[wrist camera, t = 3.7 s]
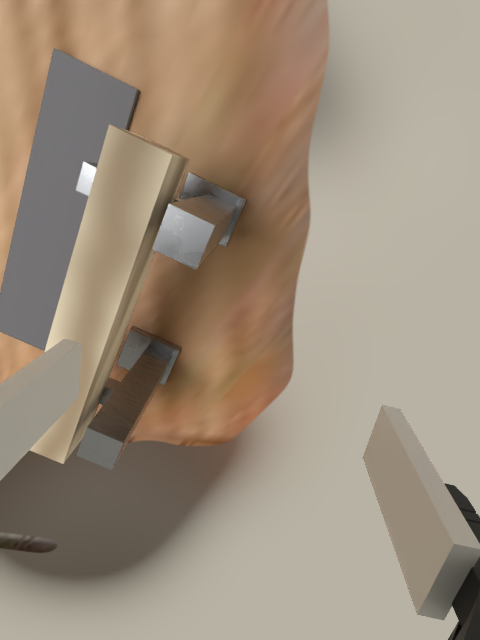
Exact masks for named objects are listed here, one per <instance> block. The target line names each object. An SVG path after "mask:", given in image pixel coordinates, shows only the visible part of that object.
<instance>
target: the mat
mask: <svg viewBox="0 0 480 640" xmlns="http://www.w3.org/2000/svg"><path fill="white" fill-rule="evenodd" d="M138 94H139V90H137V89H135V88H133V87H131V86H129V85H127V84H125V83H123V82H121V81H119V80H117V79H115V78H113V77H111V76H109V75H107V74H105V73H103V72H101V71H99V70H97V69H95V68H93V67H91V66H89V65H87V64H85V63H83V62H81V61H79V60H77V59H75V58H73V57H71V56H69V55H67V54H65V53H63V52H61V51H59V50H57V49H55V48H54V49H53V54H52V58H51V63H50V68H49V72H48V77H47V81H46V86H45V90H44V95H43V100H42V104H41V109H40V113H39V118H38V122H37V127H36V132H35V136H34V141H33V145H32V150H31V154H30V159H29V164H28V168H27V173H26V177H25V182H24V186H23V191H22V196H21V200H20V205H19V209H18V214H17V219H16V223H15V228H14V232H13V237H12V241H11V246H10V251H9V255H8V260H7V264H6V269H5V273H4V278H3V283H2V287H1V292H0V332H2V333H4V334H7V335H9V336H11V337H14V338H16V339H18V340H21V341H23V342H25V343H27V344H30V345H32V346H34V347H37V348H39V349H41V350H44V351H45V348H46V344H47V341H48V337H49V334H50V330H51V327H52V323H53V320H54V316H55V313H56V309H57V306H58V302H59V299H60V295H61V292H62V288H63V285H64V281H65V278H66V274H67V271H68V267H69V264H70V260H71V257H72V253H73V250H74V246H75V243H76V239H77V236H78V232H79V229H80V225H81V222H82V218H83V215H84V211H85V208H86V204H87V201H88V197H89V196H87V195H85V194H83V193H81V192H78V191H76V188H77V184H78V180H79V176H80V173H81V169H82V165H83V162H93V163H98V162H99V158H100V155H101V151H102V148H103V144H104V141H105V137H106V134H107V130H108V127H109V124H110V125H113V126H116V127H119V128H122V129H125V130H128V127H129V124H130V120H131V117H132V114H133V111H134V107H135V104H136V101H137V97H138Z"/></svg>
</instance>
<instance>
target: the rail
mask: <svg viewBox="0 0 480 640" xmlns="http://www.w3.org/2000/svg"><path fill="white" fill-rule="evenodd" d="M189 160H190V159H188V158H186V157H184V156H182V155H180V154H178V153H176V152H174V151H172V150H170V149H168V148H166V147H164V146H162V145H160V144H157V143H155V142H153V141H151V140H149V139H147V138H145V137H143V136H141V135H139V134H137V133H134V132H131V131H128V130H125V129H122V128H119V127H116V126H113V125H110V124H109V127H108V130H107V134H106V137H105V141H104V144H103V148H102V151H101V155H100V158H99V162H98V165H97V169H96V172H95V176H94V179H93V183H92V186H91V190H90V194H89V197H88V201H87V204H86V208H85V211H84V215H83V218H82V222H81V225H80V229H79V232H78V236H77V239H76V243H75V246H74V250H73V253H72V257H71V260H70V264H69V267H68V271H67V274H66V278H65V281H64V285H63V288H62V292H61V295H60V299H59V302H58V306H57V309H56V313H55V316H54V320H53V323H52V327H51V330H50V334H49V337H48V341H47V344H46V348H45V351H44V353H45V352H46V351H47V350H49V349H50V348H52V347H53V346H55V345H56V344H57V343H59V342H60V341H62V340H63V339H68V340H73V341H78V342H82V343H81V362H80V381H79V397H78V398H77V400H76V401H75V402H74V403H73V404H72V405H71V406H70V407H69V408H68V409H67V410H66V411H65V412H64V413H63V414H62V416H61V417H60V418H59V419H58V420H57V421H56V422H55V423H54V424H53V425H52V426H51V427H50V428H49V429H48V430H47V432H46V433H45V434H44V435H43V436H42V437H41V438H40V439H39V440H38V441H37V442H36V443H35V444H34V445H33V446H32V447H31V449H30V451H33V452H35V453H38V454H40V455H43V456H45V457H48V458H50V459H52V460H55V461H57V462H60V463H62V464H64V462H65V461H66V459H67V458H68V457H69V455H70V454H71V453H72V451H73V450H74V449H75V447H76V446H77V445H78V443H79V442H80V441H81V439H82V438H83V436H84V434H85V431H86V428H87V426H88V425H89V424H90V422H91V421H92V420H93V418H94V416H95V413H96V411H97V408H98V405H99V403H100V400H101V397H102V394H103V392H104V389H105V386H106V384H107V381H108V378H109V376H110V373H111V370H112V367H113V365H114V362H115V359H116V357H117V354H118V351H119V349H120V346H121V343H122V340H123V338H124V335H125V332H126V330H127V327H128V324H129V322H130V319H131V316H132V314H133V311H134V308H135V305H136V303H137V300H138V297H139V295H140V292H141V289H142V287H143V284H144V281H145V278H146V276H147V273H148V270H149V268H150V265H151V262H152V260H153V257H154V254H155V251H154V250H152V248H153V245H154V242H155V240H156V237H157V234H158V231H159V229H160V226H161V223H162V221H163V218H164V215H165V212H166V210H167V207H168V204H169V203H173V202H174V200H175V197H176V195H177V192H178V189H179V187H180V184H181V181H182V179H183V176H184V173H185V171H186V168H187V165H188V162H189Z"/></svg>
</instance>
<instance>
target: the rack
mask: <svg viewBox="0 0 480 640" xmlns="http://www.w3.org/2000/svg"><path fill="white" fill-rule="evenodd" d="M97 165H98V163H93V162H83V165H82V169H81V173H80V176H79V180H78V184H77V188H76V191H78V192H81V193H83V194H85V195H87V196H89V194H90V190H91V186H92V183H93V179H94V176H95V172H96V169H97ZM245 202H246V199H244V198H242V197H240V196H238V195H236V194H234V193H232V192H230V191H228V190H226V189H224V188H222V187H220V186H218V185H215V184H213V183H211V182H209V181H207V180H205V179H203V178H201V177H199V176H197V175H195V174H193V173H189V174H188V176H187V179H186V182H185V184H184V187H183V190H182V192H181V195H180V198H178V197H175V200H174V202H173V203H169V204H168V207H167V210H166V212H165V215H164V218H163V221H162V223H161V226H160V229H159V231H158V234H157V237H156V240H155V242H154V245H153V248H152V250H154V251H157V252H159V253H161V254H163V255H165V256H167V257H170V258H172V259H174V260H176V261H178V262H180V263H182V264H185V265H187V266H189V267H191V268H193V269H195V270H196V269H197V268H198V267H199V266H200V265H201V264H202V262H203V261H204V260H205V259H206V258H207V256H208V255H209V254H210V253H211V252H212V251H213V249H214V248H215V247H216V246H217V245H218V244H219V245H222V246H224V247H226V245H227V243H228V241H229V239H230V236H231V234H232V232H233V230H234V227H235V225H236V223H237V220H238V218H239V216H240V214H241V211H242V209H243V207H244V205H245ZM180 350H181V347H179V346H177V345H174V344H172V343H170V342H168V341H165V340H163V339H161V338H159V337H156V336H154V335H152V334H150V333H147V332H145V331H143V330H141V329H139V328H136V327H134V326H133V327H132V328H131V329H130V331H129V334H128V337H127V339H126V342H125V345H124V347H123V350H122V353H121V355H120V358H119V361H118V363H117V365H118V366H120V367H123V368H125V369H127V370H129V372H128V373H127V374H126V376H125V377H124V378H123V380H122V381H121V382H119V381H117V380H114V379H112V378H110V377H109V378H108V381H107V384H106V386H105V389H104V392H103V394H102V397H101V400H100V404H102V405H103V406H102V408H101V409H100V410H99V412H98V413H97V414H96V416H95V417H94V418H93V420H92V421H91V422H90V424H89V425H88V426H87V428H86V431H85V434H84V436H83V439H82V442H81V445H80V447H79V450H78V453H77V456H79V457H81V458H84V459H86V460H88V461H91V462H93V463H96V464H98V465H101V466H103V467H106V468H108V469H110V470H112V469H113V467H114V465H115V464H116V462H117V460H118V458H119V456H120V454H121V452H122V451H123V449H124V447H125V445H126V444H127V442H128V440H129V438H130V436H131V435H132V433H133V431H134V429H135V427H136V426H137V424H138V422H139V420H140V418H141V416H142V415H143V413H144V411H145V409H146V407H147V406H148V404H149V402H150V400H151V398H152V397H153V395H154V393H155V391H156V389H157V388H158V386H159V384H162V385H165V383H166V381H167V379H168V377H169V374H170V372H171V370H172V368H173V365H174V363H175V361H176V359H177V356H178V354H179V352H180Z"/></svg>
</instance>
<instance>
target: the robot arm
mask: <svg viewBox="0 0 480 640" xmlns="http://www.w3.org/2000/svg"><path fill="white" fill-rule="evenodd" d="M81 343H82V342H78V341H73V340H68V339H63V340H62V341H60V342H59V343H57V344H56V345H55V346H53V347H52V348H50V349H49V350H47V351H46V352H45V353H43V354H42V355H40V356H39V357H38V358H36V359H35V360H33V361H32V362H31V363H29V364H28V365H26V366H25V367H23V368H22V369H21V370H19V371H18V372H16V373H15V374H14V375H12V376H11V377H9V378H8V379H7V380H5V381H4V382H2V383H1V384H0V481H1V479H2V478H3V477H4V476H5V475H6V474H7V473H8V472H9V471H10V470H11V469H12V468H13V466H15V465H16V463H17V462H18V461H19V460H20V459H21V458H22V457H23V456H24V455H25V454H26V453H27V452H28V451H29V450H30V449H31V447H32V446H33V445H34V444H35V443H36V442H37V441H38V440H39V439H40V438H41V437H42V436H43V435H44V434H45V433H46V432H47V430H48V429H49V428H50V427H51V426H52V425H53V424H54V423H55V422H56V421H57V420H58V419H59V418H60V417H61V416H62V414H63V413H64V412H65V411H66V410H67V409H68V408H69V407H70V406H71V405H72V404H73V403H74V402H75V401H76V400H77V398H78V397H79V381H80V362H81ZM363 459H364V462H365V465H366V468H367V471H368V474H369V476H370V479H371V482H372V485H373V488H374V491H375V494H376V497H377V500H378V503H379V505H380V508H381V511H382V514H383V517H384V520H385V523H386V526H387V528H388V531H389V534H390V537H391V540H392V543H393V546H394V548H395V551H396V555H397V557H398V560H399V563H400V566H401V569H402V572H403V575H404V578H405V581H406V584H407V586H408V589H409V592H410V595H411V598H412V601H413V604H414V606H415V610H416V613H417V614H418V615H422V616H427V617H431V618H436V619H441V620H444V619H445V617H446V616H447V614H448V612H449V610H450V608H451V607H452V606H453V608H454V610H455V613H456V615H457V617H458V620H459V622H458V623H457V625H456V627H455V629H454V630H453V632H452V634H451V635H450V637H449V639H448V640H480V517H479V516H478V514H476V511H475V509H474V508H473V506H472V505H471V503H470V502H469V500H468V499H467V497H466V496H464V495H463V494H462V493H461V492H460V491H459V490H458V489H457V488H456V487H455V486H454V485H449V484H444V483H443V481H442V479H441V478H440V476H439V474H438V473H437V471H436V469H435V467H434V466H433V464H432V462H431V461H430V459H429V458H428V456H427V454H426V452H425V451H424V449H423V447H422V446H421V444H420V442H419V440H418V439H417V437H416V435H415V434H414V432H413V430H412V429H411V427H410V425H409V424H408V422H407V420H406V419H405V417H404V415H403V413H402V412H401V410H400V409H397V408H393V407H388V406H382V407H381V410H380V412H379V415H378V418H377V421H376V423H375V426H374V429H373V431H372V434H371V437H370V439H369V443H368V445H367V448H366V451H365V453H364V456H363Z"/></svg>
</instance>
